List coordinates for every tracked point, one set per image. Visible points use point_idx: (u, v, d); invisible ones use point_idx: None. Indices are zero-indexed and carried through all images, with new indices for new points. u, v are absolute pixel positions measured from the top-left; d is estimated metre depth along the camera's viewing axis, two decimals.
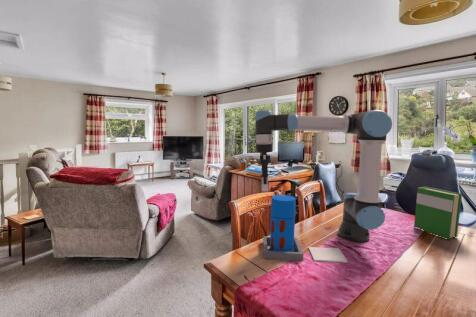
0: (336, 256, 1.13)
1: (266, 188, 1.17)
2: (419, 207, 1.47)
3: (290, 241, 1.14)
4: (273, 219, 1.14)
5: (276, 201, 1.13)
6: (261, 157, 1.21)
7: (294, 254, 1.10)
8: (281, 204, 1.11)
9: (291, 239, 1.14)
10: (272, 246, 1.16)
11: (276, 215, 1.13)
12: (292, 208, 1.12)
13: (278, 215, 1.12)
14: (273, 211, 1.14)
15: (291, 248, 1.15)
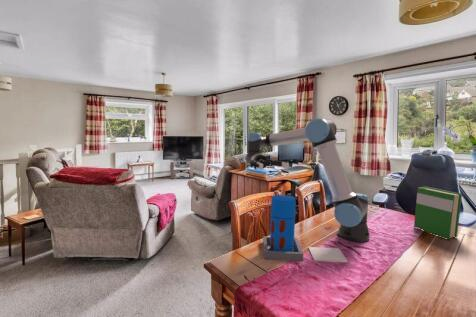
0: (336, 256, 1.13)
1: (260, 165, 1.23)
2: (419, 207, 1.47)
3: (290, 241, 1.14)
4: (273, 219, 1.14)
5: (276, 201, 1.13)
6: None
7: (294, 254, 1.10)
8: (281, 204, 1.11)
9: (291, 239, 1.14)
10: (272, 246, 1.16)
11: (276, 215, 1.13)
12: (292, 208, 1.12)
13: (278, 215, 1.12)
14: (273, 211, 1.14)
15: (291, 248, 1.15)
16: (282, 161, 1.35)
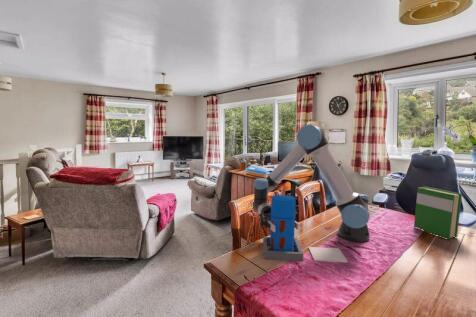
0: (336, 256, 1.13)
1: (272, 226, 1.13)
2: (419, 207, 1.47)
3: (290, 241, 1.14)
4: (273, 219, 1.14)
5: (276, 201, 1.13)
6: None
7: (294, 254, 1.10)
8: (281, 204, 1.11)
9: (291, 239, 1.14)
10: (272, 246, 1.16)
11: (276, 215, 1.13)
12: (292, 208, 1.12)
13: (278, 215, 1.12)
14: (273, 211, 1.14)
15: (291, 248, 1.15)
16: None
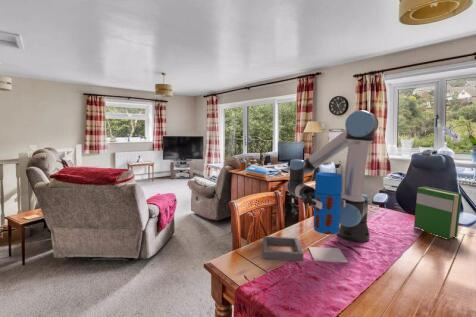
0: (336, 256, 1.13)
1: (318, 203, 1.09)
2: (419, 207, 1.47)
3: (337, 219, 1.10)
4: (319, 196, 1.10)
5: (323, 177, 1.08)
6: (309, 198, 1.24)
7: (294, 254, 1.10)
8: (328, 179, 1.07)
9: (338, 216, 1.10)
10: (317, 224, 1.12)
11: (322, 191, 1.09)
12: (339, 184, 1.08)
13: (324, 191, 1.08)
14: (319, 188, 1.10)
15: (337, 226, 1.11)
16: None
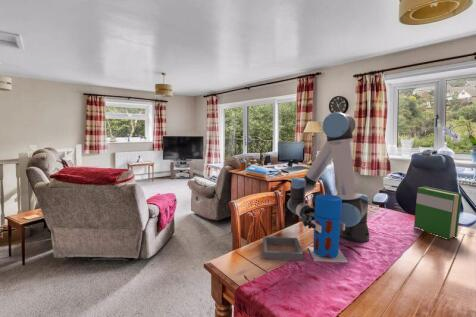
0: (336, 256, 1.13)
1: (318, 227, 1.10)
2: (419, 207, 1.47)
3: (336, 242, 1.10)
4: (318, 219, 1.11)
5: (322, 201, 1.09)
6: (309, 219, 1.25)
7: (294, 254, 1.10)
8: (328, 204, 1.08)
9: (337, 240, 1.10)
10: (317, 247, 1.13)
11: (322, 215, 1.09)
12: (339, 208, 1.09)
13: (324, 215, 1.09)
14: (318, 211, 1.11)
15: (337, 249, 1.11)
16: None
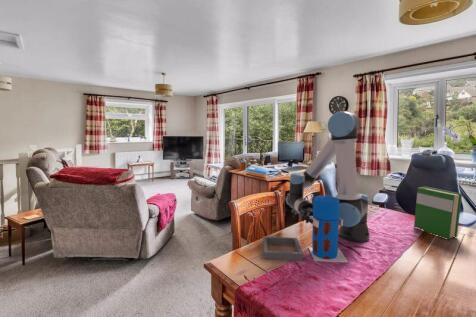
0: None
1: (315, 222, 1.10)
2: (419, 207, 1.47)
3: (335, 243, 1.10)
4: None
5: (320, 202, 1.09)
6: (307, 214, 1.25)
7: (294, 254, 1.10)
8: (325, 205, 1.08)
9: (336, 241, 1.11)
10: (316, 249, 1.13)
11: (320, 217, 1.10)
12: (337, 209, 1.09)
13: (322, 217, 1.09)
14: (316, 213, 1.11)
15: (336, 250, 1.11)
16: None
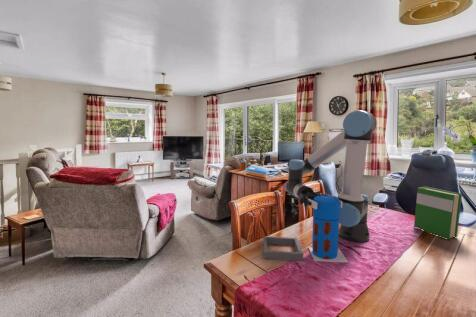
0: None
1: (314, 204, 1.10)
2: (419, 207, 1.47)
3: (335, 243, 1.10)
4: (317, 221, 1.11)
5: (320, 202, 1.09)
6: None
7: (294, 254, 1.10)
8: (326, 205, 1.08)
9: (336, 241, 1.11)
10: (316, 249, 1.13)
11: (320, 217, 1.10)
12: (337, 209, 1.09)
13: (322, 217, 1.09)
14: (317, 213, 1.11)
15: (336, 250, 1.11)
16: (331, 196, 1.21)
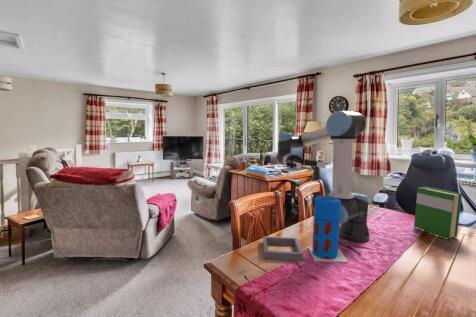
0: None
1: (298, 164, 1.26)
2: (419, 207, 1.47)
3: (335, 244, 1.10)
4: (317, 221, 1.11)
5: (321, 202, 1.09)
6: None
7: (294, 254, 1.10)
8: (327, 205, 1.08)
9: (336, 242, 1.11)
10: (316, 249, 1.13)
11: (321, 217, 1.10)
12: (338, 210, 1.09)
13: (323, 217, 1.09)
14: (318, 213, 1.11)
15: (336, 251, 1.12)
16: (316, 161, 1.38)
